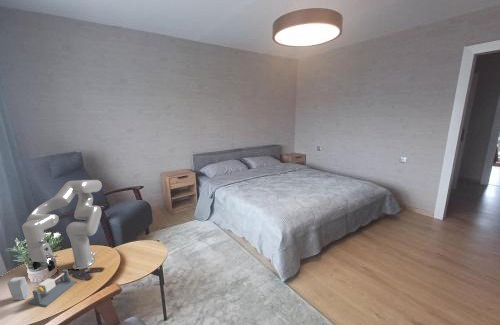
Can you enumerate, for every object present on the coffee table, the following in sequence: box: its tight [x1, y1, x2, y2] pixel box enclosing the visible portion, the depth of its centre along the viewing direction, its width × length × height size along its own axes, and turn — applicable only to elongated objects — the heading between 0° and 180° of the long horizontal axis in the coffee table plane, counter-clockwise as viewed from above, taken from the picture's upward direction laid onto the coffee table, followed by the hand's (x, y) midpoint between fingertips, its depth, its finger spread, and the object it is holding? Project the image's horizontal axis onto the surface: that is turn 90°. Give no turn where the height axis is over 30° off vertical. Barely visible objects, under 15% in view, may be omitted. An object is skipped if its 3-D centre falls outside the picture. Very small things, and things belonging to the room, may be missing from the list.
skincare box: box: [6, 276, 31, 301], centre depth 126 cm, size 6×4×12 cm
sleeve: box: [38, 277, 56, 293], centre depth 127 cm, size 5×4×4 cm
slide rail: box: [27, 269, 78, 307], centre depth 130 cm, size 18×12×8 cm, turn 171°
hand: (44, 268), depth 125 cm, fingers open, 9 cm apart
